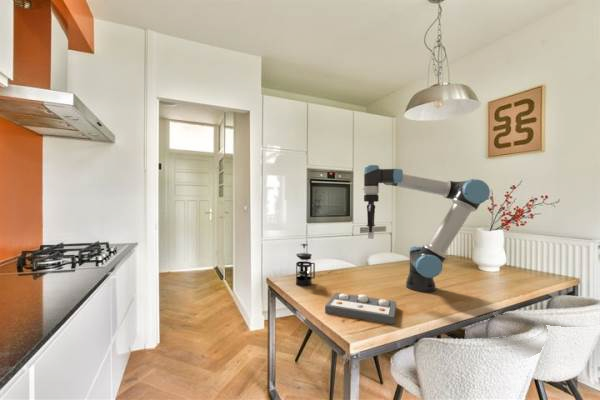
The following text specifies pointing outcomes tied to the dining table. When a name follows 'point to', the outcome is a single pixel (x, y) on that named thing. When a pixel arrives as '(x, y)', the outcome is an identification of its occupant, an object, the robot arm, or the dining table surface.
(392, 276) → the dining table surface
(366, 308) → the button board
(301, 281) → the french press
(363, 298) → the button middle
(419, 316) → the dining table surface
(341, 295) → the button
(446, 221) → the robot arm
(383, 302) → the button
